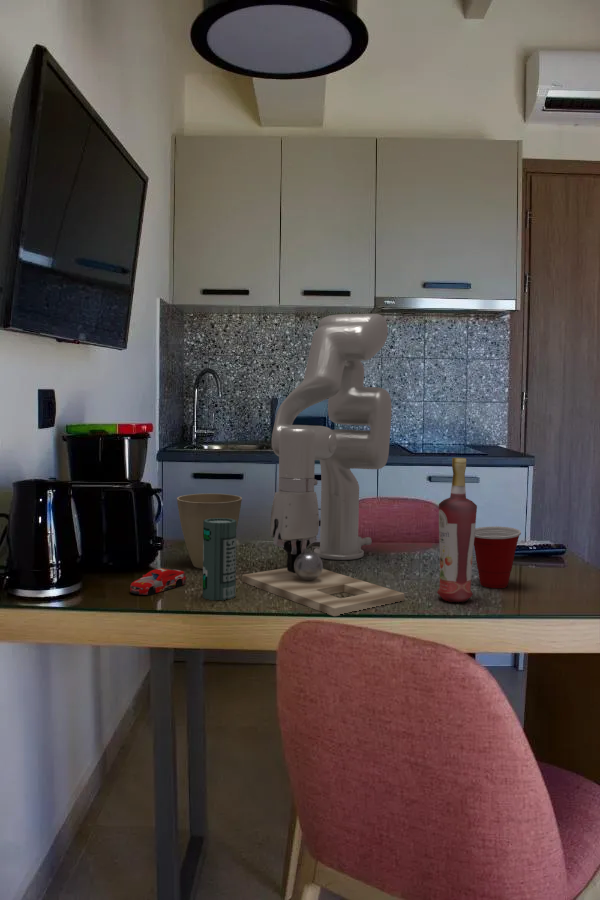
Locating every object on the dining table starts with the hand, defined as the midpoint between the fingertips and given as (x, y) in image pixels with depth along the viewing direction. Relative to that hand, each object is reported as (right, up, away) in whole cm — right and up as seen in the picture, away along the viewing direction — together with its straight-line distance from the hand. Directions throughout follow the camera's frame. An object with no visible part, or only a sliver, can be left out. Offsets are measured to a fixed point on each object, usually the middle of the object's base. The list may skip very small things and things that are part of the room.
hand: (294, 571), depth 154 cm
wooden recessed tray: (+5, -3, -6) cm, 9 cm away
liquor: (+32, -4, -11) cm, 34 cm away
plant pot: (-20, -1, +15) cm, 25 cm away
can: (-15, -3, -12) cm, 19 cm away
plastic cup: (+42, -3, +1) cm, 43 cm away
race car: (-28, -3, -7) cm, 29 cm away
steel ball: (+3, +2, -4) cm, 5 cm away
